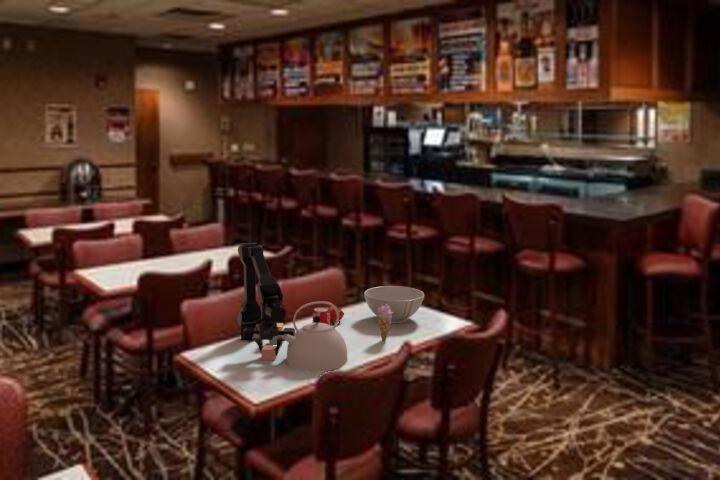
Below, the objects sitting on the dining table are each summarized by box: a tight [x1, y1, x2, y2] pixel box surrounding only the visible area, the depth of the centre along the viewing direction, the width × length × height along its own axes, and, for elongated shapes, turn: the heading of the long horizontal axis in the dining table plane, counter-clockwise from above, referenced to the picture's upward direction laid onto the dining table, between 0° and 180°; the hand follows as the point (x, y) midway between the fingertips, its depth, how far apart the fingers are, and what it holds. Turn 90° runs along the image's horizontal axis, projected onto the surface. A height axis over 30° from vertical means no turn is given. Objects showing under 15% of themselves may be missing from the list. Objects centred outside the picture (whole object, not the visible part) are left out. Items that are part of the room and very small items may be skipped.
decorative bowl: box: [363, 285, 425, 324], centre depth 304 cm, size 27×27×12 cm
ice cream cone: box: [375, 304, 393, 342], centre depth 274 cm, size 7×6×15 cm
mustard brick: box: [275, 322, 284, 337], centre depth 269 cm, size 5×5×4 cm
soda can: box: [312, 307, 331, 326], centre depth 277 cm, size 7×7×12 cm
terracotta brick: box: [261, 344, 278, 361], centre depth 254 cm, size 5×5×4 cm
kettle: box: [282, 300, 349, 372], centre depth 250 cm, size 25×23×23 cm
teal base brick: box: [268, 337, 285, 347], centre depth 270 cm, size 5×5×4 cm
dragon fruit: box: [324, 305, 345, 325], centre depth 298 cm, size 8×8×12 cm
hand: (269, 355), depth 254 cm, fingers closed on terracotta brick, 5 cm apart
